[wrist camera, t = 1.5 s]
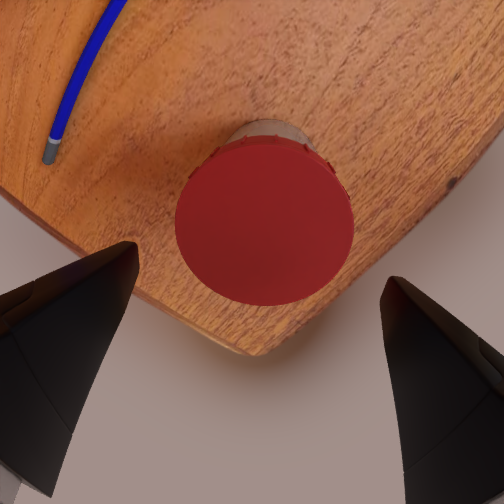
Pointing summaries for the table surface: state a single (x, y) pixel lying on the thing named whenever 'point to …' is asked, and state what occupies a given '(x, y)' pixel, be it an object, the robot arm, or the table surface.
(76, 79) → the pencil
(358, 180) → the table surface
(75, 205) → the table surface
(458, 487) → the robot arm
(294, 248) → the jar lid
